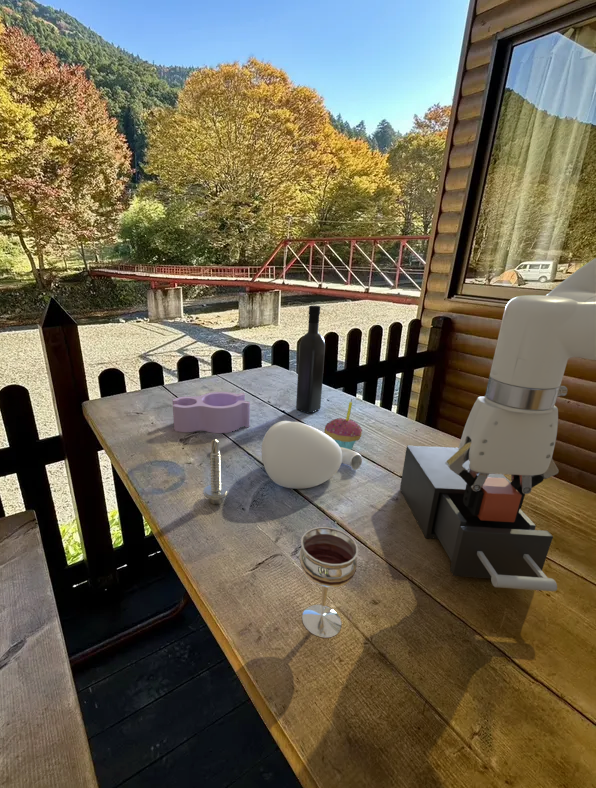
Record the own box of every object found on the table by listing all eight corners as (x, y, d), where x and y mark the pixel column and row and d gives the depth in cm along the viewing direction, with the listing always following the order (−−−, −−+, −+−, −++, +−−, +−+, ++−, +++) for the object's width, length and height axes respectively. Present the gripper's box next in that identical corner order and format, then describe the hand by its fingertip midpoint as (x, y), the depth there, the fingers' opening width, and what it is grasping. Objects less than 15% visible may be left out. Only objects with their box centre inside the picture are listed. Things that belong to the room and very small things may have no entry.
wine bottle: (294, 409, 121) (299, 306, 110) (306, 404, 124) (312, 304, 114) (310, 414, 117) (317, 308, 106) (321, 409, 120) (329, 306, 110)
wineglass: (324, 592, 57) (331, 520, 53) (360, 629, 51) (371, 552, 47) (284, 611, 54) (288, 537, 50) (318, 653, 48) (326, 574, 44)
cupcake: (337, 436, 103) (342, 392, 99) (367, 448, 97) (373, 401, 93) (315, 447, 98) (319, 400, 94) (346, 460, 92) (351, 411, 88)
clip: (175, 436, 104) (173, 411, 102) (173, 417, 115) (171, 394, 113) (252, 430, 107) (252, 406, 104) (242, 412, 118) (242, 390, 116)
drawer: (566, 617, 52) (584, 569, 49) (471, 610, 53) (484, 562, 50) (490, 521, 70) (501, 481, 67) (421, 517, 71) (428, 478, 68)
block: (497, 503, 62) (504, 477, 60) (514, 522, 57) (522, 495, 56) (466, 502, 62) (472, 476, 61) (480, 520, 58) (487, 493, 56)
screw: (231, 506, 76) (205, 509, 75) (226, 491, 81) (201, 494, 80) (230, 443, 72) (203, 446, 71) (225, 432, 76) (199, 434, 75)
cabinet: (506, 543, 66) (521, 492, 63) (425, 538, 67) (435, 488, 64) (466, 492, 80) (476, 448, 76) (399, 488, 81) (406, 445, 78)
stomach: (367, 498, 85) (299, 459, 106) (383, 437, 84) (311, 410, 105) (278, 497, 75) (221, 453, 96) (294, 427, 73) (233, 399, 94)
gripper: (570, 386, 56) (536, 499, 62) (441, 382, 58) (420, 493, 64) (612, 406, 49) (569, 531, 55) (464, 401, 51) (438, 523, 57)
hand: (489, 509), depth 60 cm, fingers closed on block, 4 cm apart
